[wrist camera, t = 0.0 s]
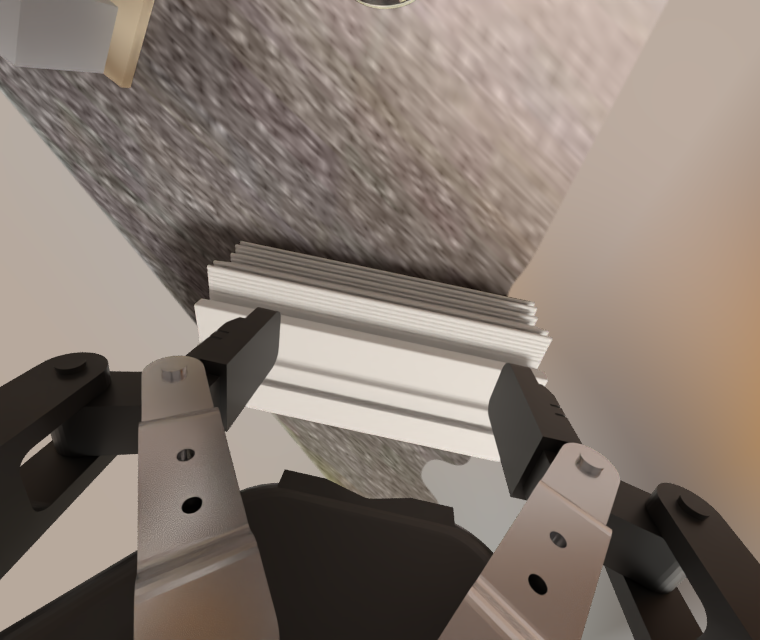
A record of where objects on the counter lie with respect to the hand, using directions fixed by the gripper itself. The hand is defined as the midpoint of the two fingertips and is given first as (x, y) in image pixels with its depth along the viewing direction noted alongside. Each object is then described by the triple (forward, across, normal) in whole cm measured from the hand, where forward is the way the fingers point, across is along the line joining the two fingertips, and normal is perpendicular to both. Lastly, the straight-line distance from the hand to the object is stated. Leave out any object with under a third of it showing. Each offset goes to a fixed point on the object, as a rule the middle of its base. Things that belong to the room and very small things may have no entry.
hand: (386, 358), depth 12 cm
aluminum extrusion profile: (+25, +1, +11) cm, 27 cm away
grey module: (+20, +28, -11) cm, 36 cm away
